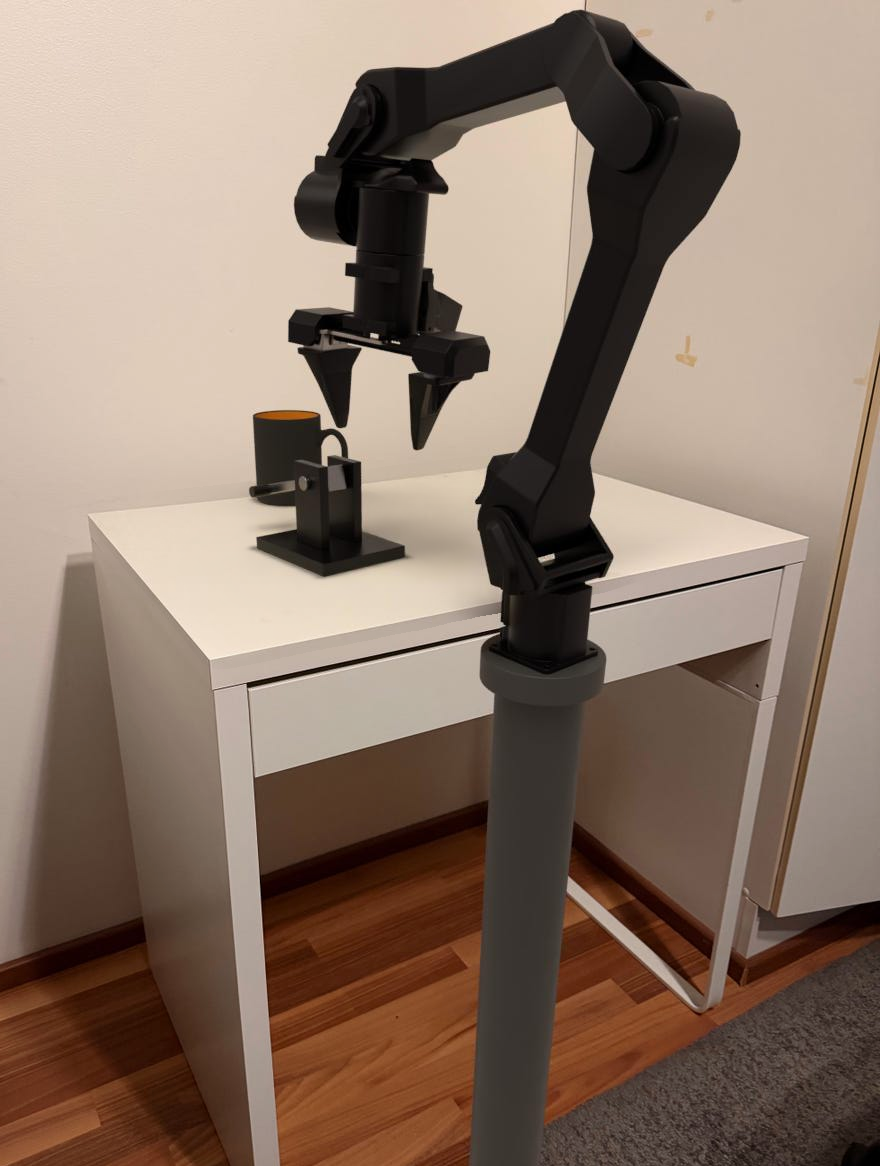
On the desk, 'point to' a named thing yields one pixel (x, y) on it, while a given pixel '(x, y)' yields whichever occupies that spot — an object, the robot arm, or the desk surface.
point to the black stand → (329, 524)
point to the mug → (287, 447)
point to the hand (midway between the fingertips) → (378, 438)
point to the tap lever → (334, 484)
